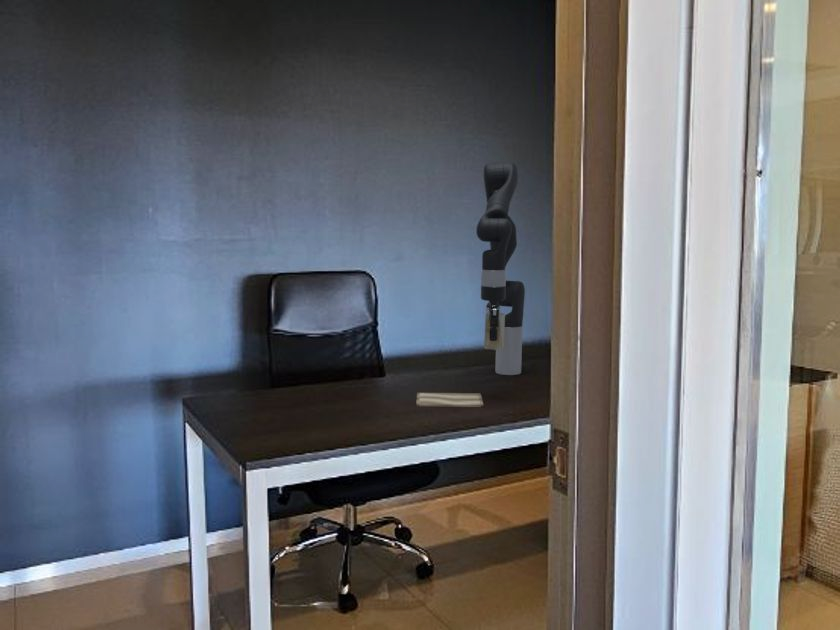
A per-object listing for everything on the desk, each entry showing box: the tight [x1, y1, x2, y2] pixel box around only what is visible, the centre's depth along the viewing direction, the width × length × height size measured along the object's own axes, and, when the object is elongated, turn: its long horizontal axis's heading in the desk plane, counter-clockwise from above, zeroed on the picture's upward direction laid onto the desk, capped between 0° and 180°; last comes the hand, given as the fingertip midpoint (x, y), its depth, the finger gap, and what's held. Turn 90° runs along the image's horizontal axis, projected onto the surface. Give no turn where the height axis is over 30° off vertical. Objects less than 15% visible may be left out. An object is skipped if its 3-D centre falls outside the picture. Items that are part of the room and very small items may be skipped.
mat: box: [415, 392, 484, 408], centre depth 226 cm, size 14×20×1 cm
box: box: [483, 312, 506, 351], centre depth 227 cm, size 5×4×11 cm
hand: (492, 338), depth 227 cm, fingers closed on box, 5 cm apart
